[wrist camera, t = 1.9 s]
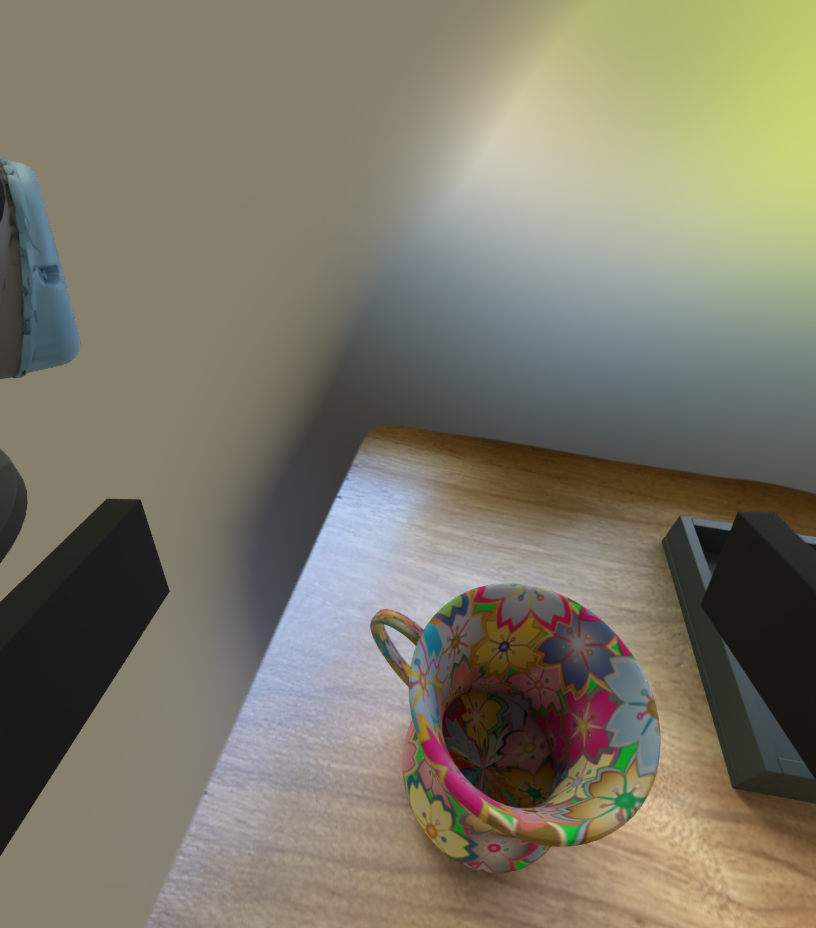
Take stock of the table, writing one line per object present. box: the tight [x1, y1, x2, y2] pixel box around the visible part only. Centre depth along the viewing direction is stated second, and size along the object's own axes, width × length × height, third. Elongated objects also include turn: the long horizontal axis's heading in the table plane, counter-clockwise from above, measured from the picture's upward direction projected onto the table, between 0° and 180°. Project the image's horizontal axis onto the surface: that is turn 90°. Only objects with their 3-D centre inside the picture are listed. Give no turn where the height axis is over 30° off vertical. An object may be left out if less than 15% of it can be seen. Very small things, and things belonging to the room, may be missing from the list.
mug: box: [370, 583, 660, 873], centre depth 22 cm, size 12×9×11 cm
